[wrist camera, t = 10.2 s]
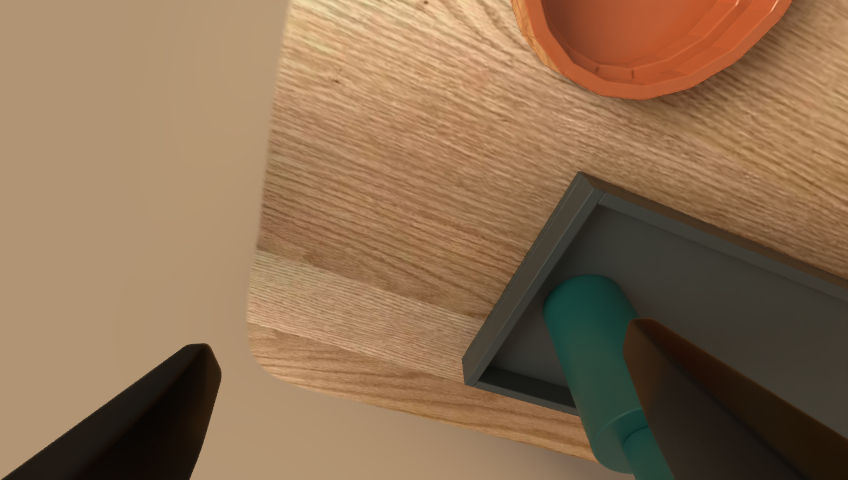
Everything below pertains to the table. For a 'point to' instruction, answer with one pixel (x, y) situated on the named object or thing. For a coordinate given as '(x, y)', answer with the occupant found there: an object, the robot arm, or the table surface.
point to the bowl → (643, 40)
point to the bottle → (602, 373)
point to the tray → (671, 302)
